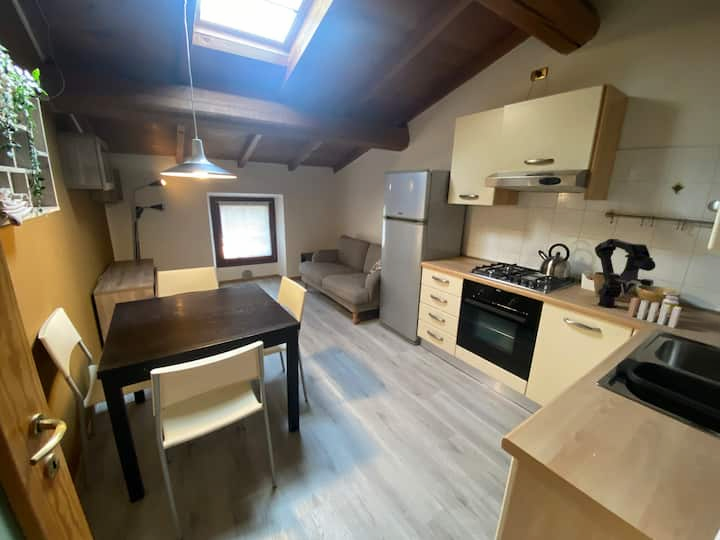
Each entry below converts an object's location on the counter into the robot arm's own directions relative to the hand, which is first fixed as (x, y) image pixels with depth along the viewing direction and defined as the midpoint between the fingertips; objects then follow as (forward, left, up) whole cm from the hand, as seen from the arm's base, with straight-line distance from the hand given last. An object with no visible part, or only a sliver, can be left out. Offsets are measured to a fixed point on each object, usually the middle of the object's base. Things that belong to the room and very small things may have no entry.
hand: (625, 294), depth 162 cm
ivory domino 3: (+17, 0, -11) cm, 20 cm away
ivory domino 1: (+9, 0, -11) cm, 14 cm away
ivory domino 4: (+21, 0, -11) cm, 23 cm away
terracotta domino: (+5, 0, -11) cm, 12 cm away
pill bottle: (+15, +21, -12) cm, 28 cm away
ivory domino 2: (+13, 0, -11) cm, 17 cm away
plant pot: (-16, +26, -11) cm, 33 cm away
